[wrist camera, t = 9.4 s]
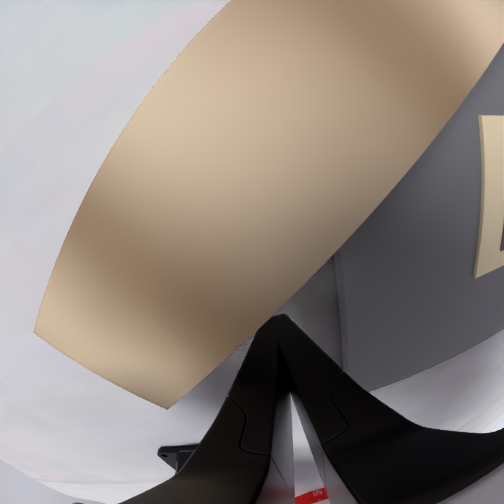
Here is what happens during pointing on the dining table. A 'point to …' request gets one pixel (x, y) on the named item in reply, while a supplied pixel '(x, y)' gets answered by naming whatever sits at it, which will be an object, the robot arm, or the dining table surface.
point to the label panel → (430, 251)
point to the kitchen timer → (313, 497)
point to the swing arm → (252, 176)
